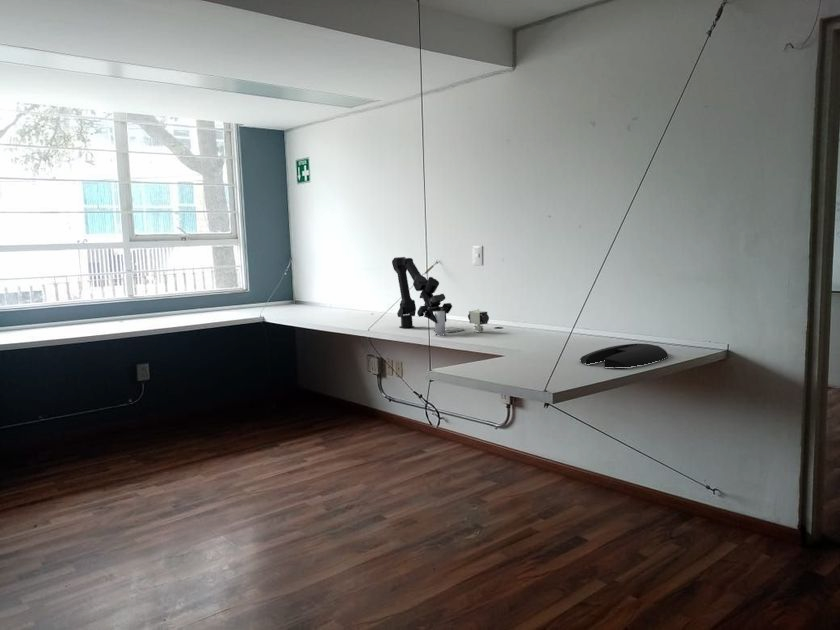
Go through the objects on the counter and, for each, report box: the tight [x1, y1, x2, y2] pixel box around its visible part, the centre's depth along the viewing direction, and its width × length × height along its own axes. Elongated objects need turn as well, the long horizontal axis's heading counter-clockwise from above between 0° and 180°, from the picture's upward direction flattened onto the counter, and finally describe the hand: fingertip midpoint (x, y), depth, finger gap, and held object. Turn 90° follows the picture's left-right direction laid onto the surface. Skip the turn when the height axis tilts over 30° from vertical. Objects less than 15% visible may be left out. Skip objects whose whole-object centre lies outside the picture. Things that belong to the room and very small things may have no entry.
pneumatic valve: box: [467, 308, 490, 333], centre depth 351 cm, size 6×12×12 cm, turn 35°
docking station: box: [579, 343, 669, 368], centre depth 271 cm, size 25×41×5 cm, turn 129°
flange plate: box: [433, 326, 466, 334], centre depth 360 cm, size 12×12×1 cm
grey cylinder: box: [434, 311, 447, 336], centre depth 348 cm, size 6×6×12 cm
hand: (441, 322), depth 347 cm, fingers closed on grey cylinder, 5 cm apart
